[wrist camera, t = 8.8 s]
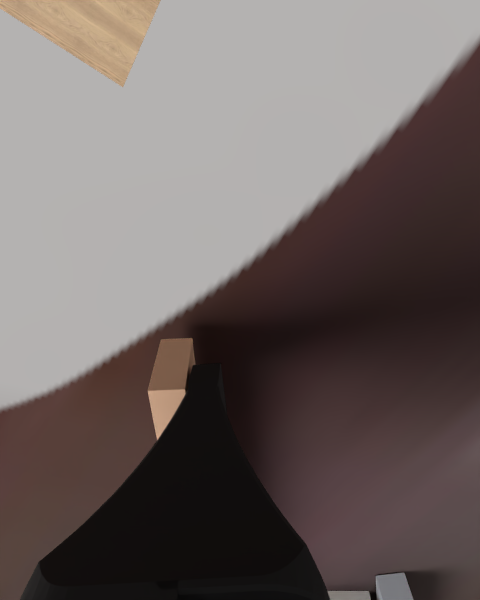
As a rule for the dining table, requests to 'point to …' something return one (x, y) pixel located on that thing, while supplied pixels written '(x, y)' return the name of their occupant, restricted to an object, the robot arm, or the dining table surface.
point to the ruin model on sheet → (90, 29)
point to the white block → (349, 595)
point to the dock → (392, 587)
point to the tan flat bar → (170, 379)
